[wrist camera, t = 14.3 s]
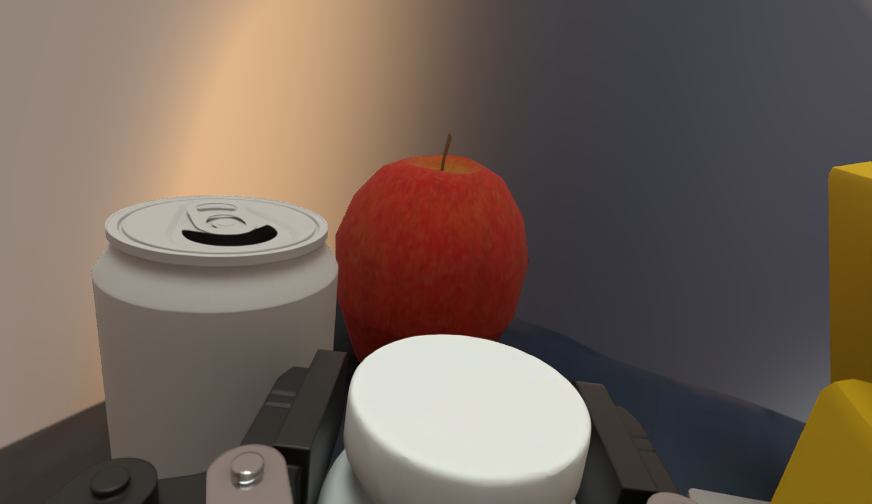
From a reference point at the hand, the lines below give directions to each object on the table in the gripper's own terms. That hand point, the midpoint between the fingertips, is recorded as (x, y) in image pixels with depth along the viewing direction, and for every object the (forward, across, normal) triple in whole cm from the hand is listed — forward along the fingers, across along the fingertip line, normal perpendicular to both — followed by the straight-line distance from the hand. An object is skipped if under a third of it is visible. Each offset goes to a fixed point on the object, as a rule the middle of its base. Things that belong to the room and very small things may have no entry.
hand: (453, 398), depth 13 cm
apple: (+14, +1, +9) cm, 17 cm away
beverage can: (+3, +7, +9) cm, 12 cm away
